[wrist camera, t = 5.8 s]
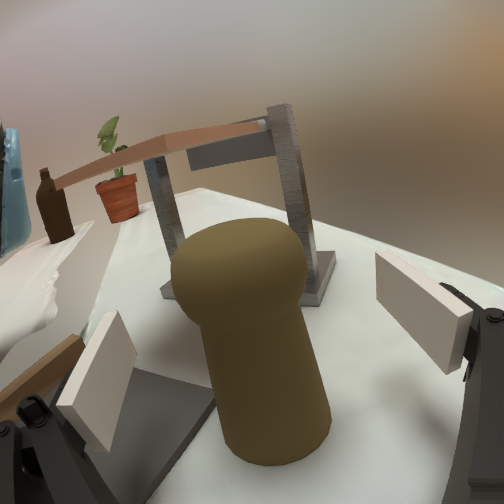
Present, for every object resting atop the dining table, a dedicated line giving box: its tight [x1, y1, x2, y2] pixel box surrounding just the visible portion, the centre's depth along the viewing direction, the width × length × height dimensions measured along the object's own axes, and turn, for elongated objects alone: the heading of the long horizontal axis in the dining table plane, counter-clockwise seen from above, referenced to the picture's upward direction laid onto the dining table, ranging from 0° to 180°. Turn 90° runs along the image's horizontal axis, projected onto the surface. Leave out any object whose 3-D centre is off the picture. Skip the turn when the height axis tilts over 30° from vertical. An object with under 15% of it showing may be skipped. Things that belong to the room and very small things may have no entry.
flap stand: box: [143, 104, 336, 306], centre depth 30 cm, size 9×17×16 cm, turn 66°
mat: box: [15, 367, 216, 504], centre depth 15 cm, size 13×13×1 cm
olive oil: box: [36, 168, 75, 244], centre depth 85 cm, size 11×11×25 cm
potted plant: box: [95, 116, 139, 223], centre depth 89 cm, size 16×15×35 cm
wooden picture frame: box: [0, 334, 86, 423], centre depth 14 cm, size 15×14×2 cm
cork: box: [171, 218, 332, 466], centre depth 13 cm, size 6×6×11 cm
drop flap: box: [54, 115, 276, 191], centre depth 24 cm, size 19×12×4 cm, turn 156°
